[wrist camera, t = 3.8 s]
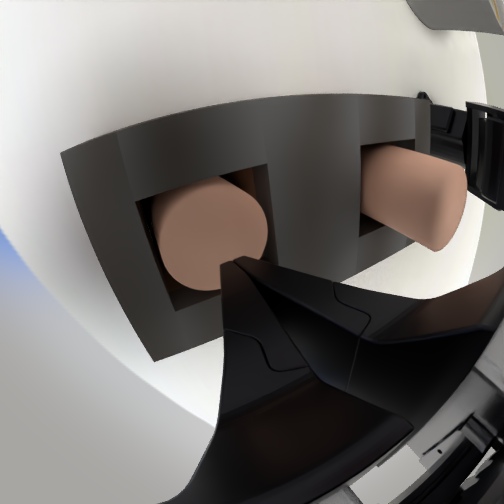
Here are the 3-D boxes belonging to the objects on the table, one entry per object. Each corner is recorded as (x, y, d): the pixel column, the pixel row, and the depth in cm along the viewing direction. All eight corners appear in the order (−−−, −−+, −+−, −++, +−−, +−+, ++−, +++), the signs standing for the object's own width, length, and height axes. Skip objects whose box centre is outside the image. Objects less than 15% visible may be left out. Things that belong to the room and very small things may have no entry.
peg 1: (210, 153, 15) (260, 173, 10) (223, 219, 18) (272, 268, 12) (137, 174, 14) (145, 207, 9) (158, 242, 16) (179, 304, 11)
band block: (354, 93, 18) (429, 100, 12) (357, 207, 23) (420, 238, 18) (88, 140, 12) (59, 152, 7) (138, 285, 17) (154, 362, 12)
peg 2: (381, 136, 15) (471, 160, 10) (380, 198, 17) (458, 236, 12) (331, 142, 14) (435, 171, 9) (334, 214, 16) (420, 264, 11)
